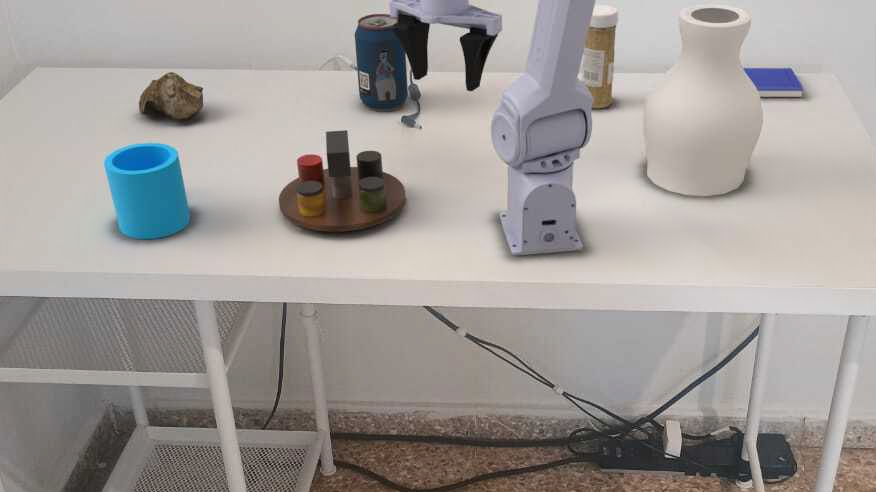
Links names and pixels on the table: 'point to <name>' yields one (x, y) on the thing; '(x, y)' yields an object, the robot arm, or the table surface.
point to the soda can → (380, 63)
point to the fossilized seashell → (171, 98)
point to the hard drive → (775, 82)
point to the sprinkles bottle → (600, 55)
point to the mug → (147, 190)
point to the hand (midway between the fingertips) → (446, 82)
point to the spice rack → (341, 190)
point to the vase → (704, 107)
